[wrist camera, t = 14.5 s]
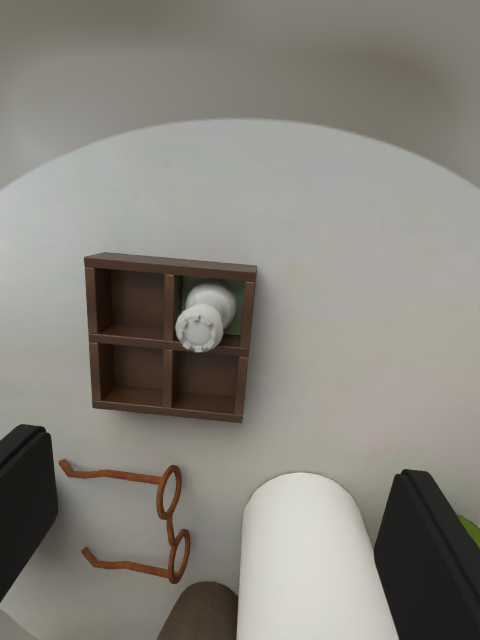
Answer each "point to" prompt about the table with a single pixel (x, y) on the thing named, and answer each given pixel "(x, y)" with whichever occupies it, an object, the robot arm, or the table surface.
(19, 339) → the table surface
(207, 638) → the plant pot
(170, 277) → the rack
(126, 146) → the table surface
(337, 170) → the table surface
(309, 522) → the can
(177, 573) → the glasses
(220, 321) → the rook chess piece
